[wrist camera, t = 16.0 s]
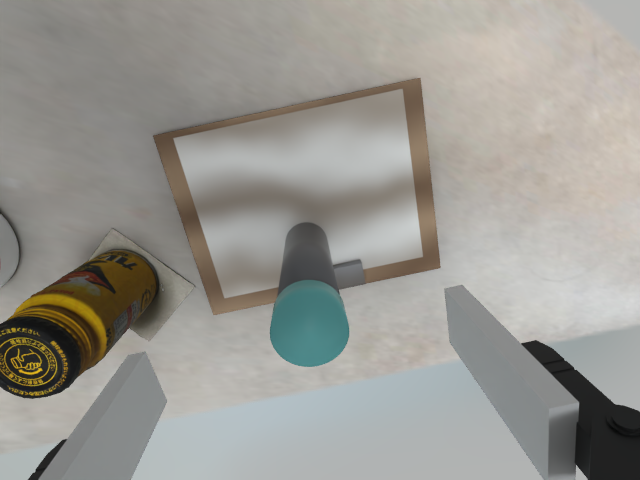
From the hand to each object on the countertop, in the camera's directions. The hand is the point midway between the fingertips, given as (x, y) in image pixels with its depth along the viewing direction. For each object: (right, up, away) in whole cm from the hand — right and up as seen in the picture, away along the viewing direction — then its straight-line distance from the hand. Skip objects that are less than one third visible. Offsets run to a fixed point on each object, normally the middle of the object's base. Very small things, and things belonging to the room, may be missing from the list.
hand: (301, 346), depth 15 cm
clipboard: (0, +8, +15) cm, 17 cm away
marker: (0, +4, +15) cm, 16 cm away
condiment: (-16, 0, +17) cm, 23 cm away
